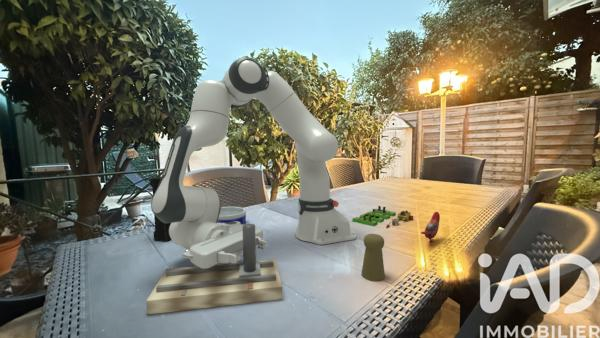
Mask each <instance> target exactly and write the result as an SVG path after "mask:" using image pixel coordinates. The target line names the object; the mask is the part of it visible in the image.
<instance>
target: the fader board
mask: <svg viewBox="0 0 600 338" xmlns="http://www.w3.org/2000/svg"><path fill="white" fill-rule="evenodd" d="M256 264H260V272H261V276H251V277H241V278H239V269H240V266H241V265H243V261H242V262H237V263H235V264H234V263H231V262H229V263H221V264H220V263H218V264H216V265H214V266H212V267H210V268H206V269H202V268H200V267H198V266H196V265H195V266H186V267H176V268H173V267H172V268H166V269H165V270H164V272H163V274H162V275H161V277H160V278H159V279H158V282H157V283H156V285H155V286H154V288H153V290H152V291H151V293H150V295H149V296H148V297H147V299H146V301H145V303H146V315H157V314H164V313H174V312H182V311H189V310H190V311H191V310H200V309H207V308H216V307H217V306H218V307H226V306H234V305H242V304H252V303H260V302H268V301H269V302H270V301H279V300H283V286H282V281H281V277H280V273H279V269H278V264H277V260H276V259H268V260H256ZM218 307H217V308H218Z"/></svg>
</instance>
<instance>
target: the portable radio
mask: <svg viewBox="0 0 600 338" xmlns="http://www.w3.org/2000/svg"><path fill="white" fill-rule="evenodd" d="M161 177H162V175H161V176H158V177H152V178H149V185H150V187H151V188H152V196H153V195H154V193H155V191H156V189H157V187H158V185H159V183H160V180H161ZM153 216H154V231H153V240H154V241H161V242H168V241H170V240H172V239H171V237H170V235H169V227H170V225H171V223H163V222H162V221H160V220H159V219H158V218H157V217H156V216H155V215H154V214H153Z"/></svg>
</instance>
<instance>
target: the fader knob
mask: <svg viewBox="0 0 600 338" xmlns="http://www.w3.org/2000/svg"><path fill="white" fill-rule="evenodd" d="M255 227H256V225H255V224H253V223H245V225H243V226H242V228H243V252H242V257H243V259H242V260H243V261H242V262H243V265H241V266H240V269H239V278H241V277H251V276H261V272H260V264H256V261H257V254H256V253H257V249H256V242H255Z"/></svg>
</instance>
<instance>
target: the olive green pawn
mask: <svg viewBox="0 0 600 338" xmlns="http://www.w3.org/2000/svg"><path fill="white" fill-rule="evenodd" d="M363 245H364V247H365V249H364V256H363V263H362V268H361V273H360V274H361V276H362V278H363V279H365V280H367V281H369V282H381V281H383V280H384V279H385V277H386V274H385V264H384V254H383V248H384V246H385V239H384V237H383V236H382V235H380V234H378V233H369V234H366V235H365V236H364V238H363Z"/></svg>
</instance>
